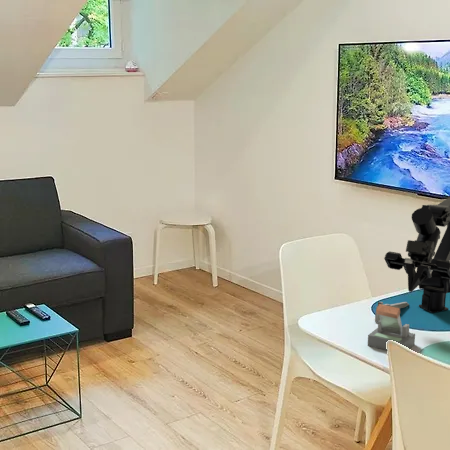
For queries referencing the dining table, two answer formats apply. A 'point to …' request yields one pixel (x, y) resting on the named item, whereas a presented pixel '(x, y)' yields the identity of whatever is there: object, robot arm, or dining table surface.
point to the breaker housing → (390, 337)
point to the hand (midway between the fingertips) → (409, 291)
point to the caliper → (397, 305)
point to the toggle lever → (390, 319)
